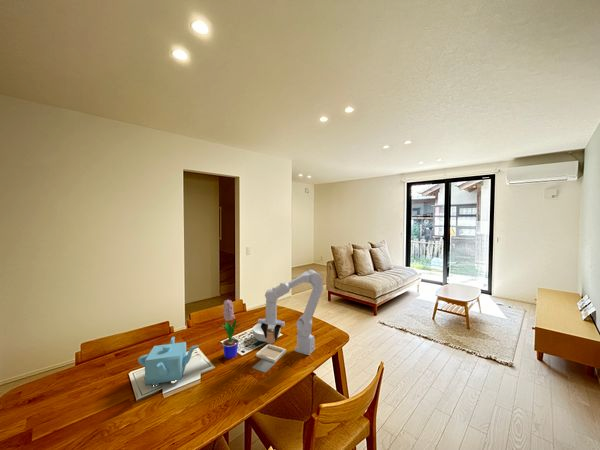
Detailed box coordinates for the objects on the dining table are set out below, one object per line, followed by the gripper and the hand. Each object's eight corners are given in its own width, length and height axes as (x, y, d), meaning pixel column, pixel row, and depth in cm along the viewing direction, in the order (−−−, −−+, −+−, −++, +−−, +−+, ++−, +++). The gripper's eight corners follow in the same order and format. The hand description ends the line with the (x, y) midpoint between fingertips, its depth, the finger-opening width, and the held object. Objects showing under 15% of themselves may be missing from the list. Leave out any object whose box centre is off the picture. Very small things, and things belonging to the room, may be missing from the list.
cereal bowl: (278, 346, 133) (278, 334, 133) (249, 346, 134) (249, 334, 133) (281, 332, 150) (281, 321, 150) (255, 332, 151) (255, 321, 150)
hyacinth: (237, 361, 119) (236, 303, 118) (218, 359, 121) (218, 301, 120) (244, 352, 128) (244, 297, 127) (227, 350, 130) (226, 296, 129)
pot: (277, 340, 126) (278, 329, 126) (271, 345, 122) (272, 333, 121) (269, 337, 129) (270, 326, 128) (263, 342, 124) (264, 330, 124)
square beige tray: (286, 352, 127) (286, 349, 127) (274, 363, 118) (274, 360, 118) (268, 346, 133) (268, 343, 133) (255, 357, 123) (255, 353, 123)
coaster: (275, 364, 117) (275, 363, 117) (265, 373, 110) (265, 372, 110) (262, 359, 121) (262, 358, 121) (252, 368, 114) (252, 367, 114)
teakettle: (134, 383, 104) (134, 350, 103) (175, 360, 120) (174, 332, 120) (159, 399, 94) (159, 363, 94) (199, 372, 111) (199, 341, 110)
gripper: (286, 311, 127) (286, 335, 127) (261, 308, 130) (261, 332, 131) (282, 316, 120) (282, 342, 120) (256, 313, 123) (256, 339, 124)
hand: (271, 337), depth 125 cm, fingers closed on pot, 5 cm apart
